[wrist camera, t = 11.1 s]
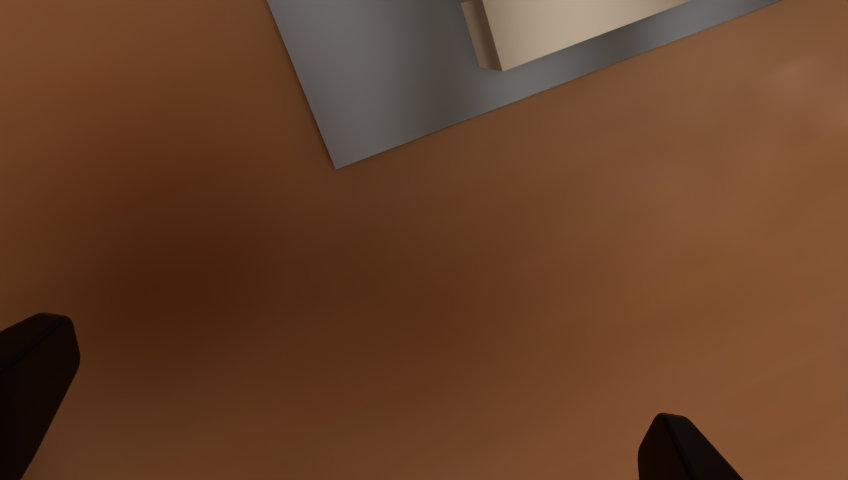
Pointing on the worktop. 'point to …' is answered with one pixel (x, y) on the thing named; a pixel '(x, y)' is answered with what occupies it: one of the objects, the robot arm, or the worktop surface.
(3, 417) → the robot arm
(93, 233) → the worktop surface
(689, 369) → the worktop surface
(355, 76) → the dock
